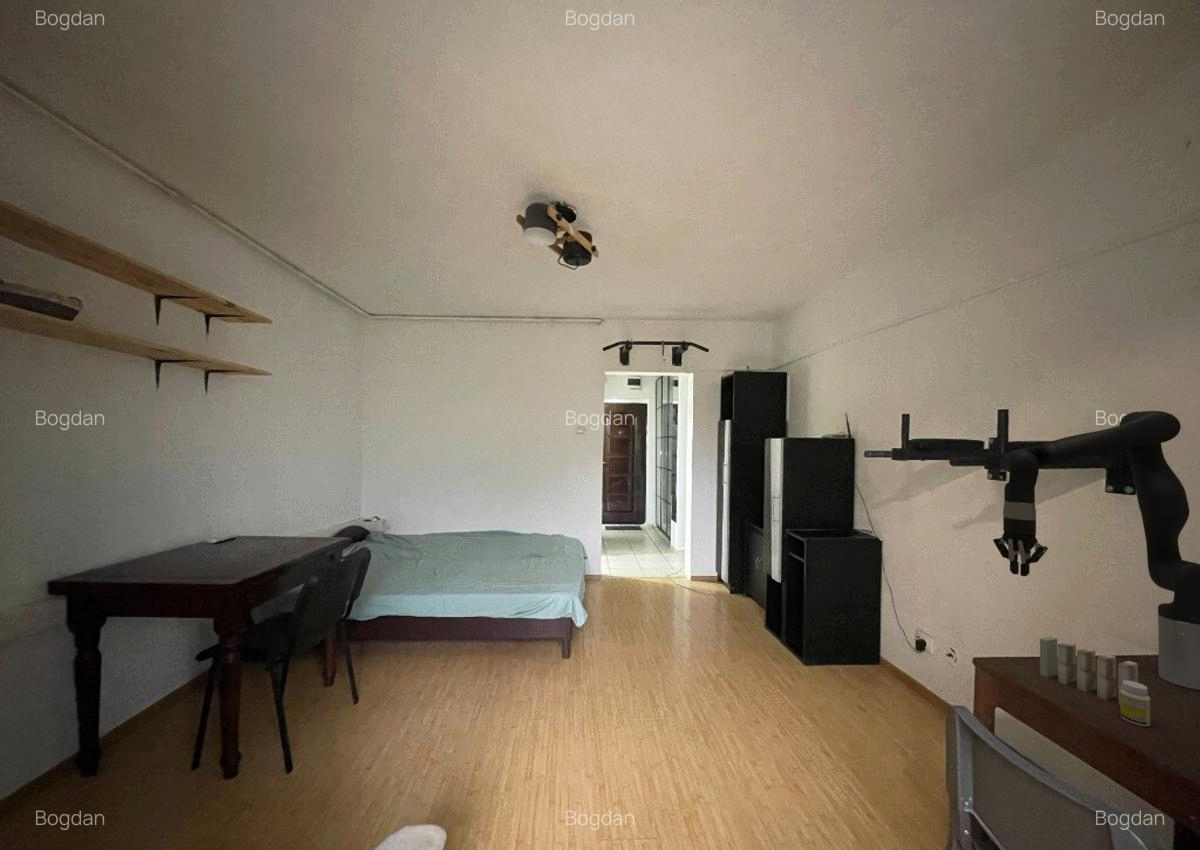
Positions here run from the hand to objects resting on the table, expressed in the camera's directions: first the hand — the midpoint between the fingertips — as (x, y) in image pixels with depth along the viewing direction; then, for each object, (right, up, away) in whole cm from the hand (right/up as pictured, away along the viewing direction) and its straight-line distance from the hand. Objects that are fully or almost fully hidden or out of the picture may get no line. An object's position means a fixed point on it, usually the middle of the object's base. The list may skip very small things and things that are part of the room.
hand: (1019, 574), depth 145 cm
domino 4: (+3, -24, -22) cm, 33 cm away
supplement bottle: (-2, -24, -33) cm, 41 cm away
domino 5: (+5, -24, -26) cm, 36 cm away
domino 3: (+2, -24, -18) cm, 31 cm away
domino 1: (-1, -25, -11) cm, 27 cm away
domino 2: (0, -25, -14) cm, 28 cm away
